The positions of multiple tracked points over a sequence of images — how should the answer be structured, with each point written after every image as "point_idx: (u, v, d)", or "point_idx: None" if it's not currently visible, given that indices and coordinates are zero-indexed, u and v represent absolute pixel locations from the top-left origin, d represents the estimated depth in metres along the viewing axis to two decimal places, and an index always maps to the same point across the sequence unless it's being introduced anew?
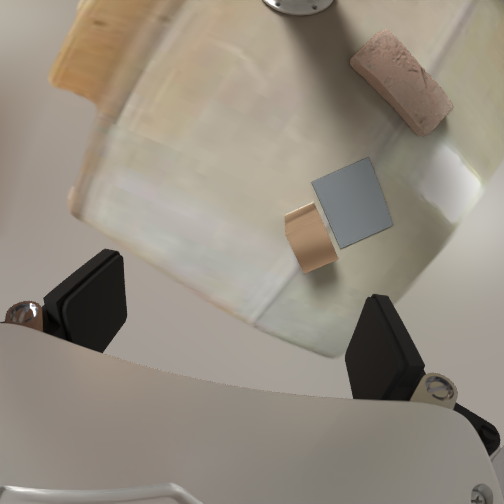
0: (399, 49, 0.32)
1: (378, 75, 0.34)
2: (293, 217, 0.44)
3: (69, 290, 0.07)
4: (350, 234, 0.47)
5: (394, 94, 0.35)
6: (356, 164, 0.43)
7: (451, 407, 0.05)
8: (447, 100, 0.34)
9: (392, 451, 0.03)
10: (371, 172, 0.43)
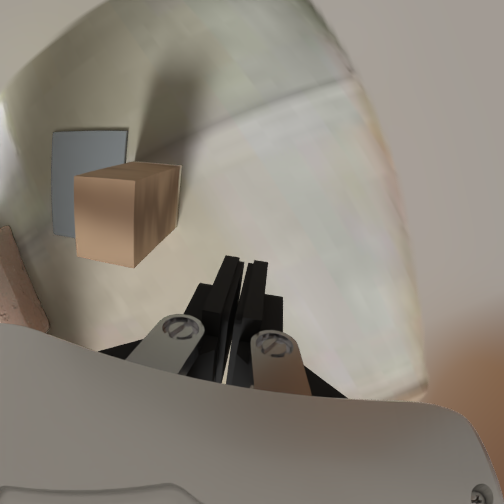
0: (2, 320, 0.32)
1: (20, 315, 0.31)
2: None
3: (225, 299, 0.08)
4: (104, 146, 0.26)
5: (11, 291, 0.30)
6: (67, 234, 0.30)
7: (299, 358, 0.07)
8: None
9: (392, 451, 0.03)
10: (55, 215, 0.29)
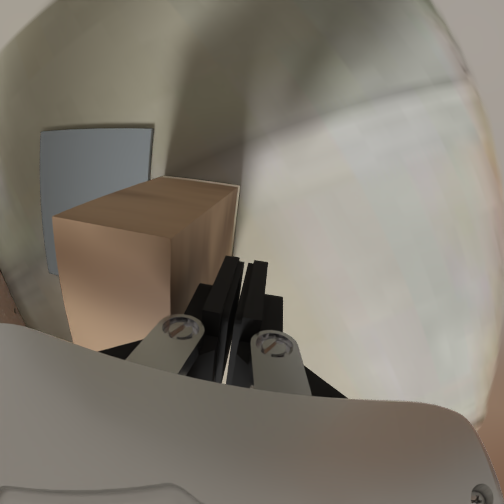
0: None
1: None
2: None
3: (225, 299, 0.08)
4: (116, 151, 0.17)
5: None
6: None
7: (299, 358, 0.07)
8: None
9: (392, 451, 0.03)
10: (49, 249, 0.21)
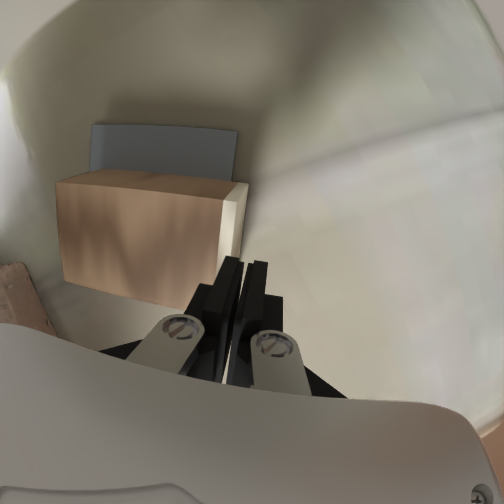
0: None
1: None
2: None
3: (225, 299, 0.08)
4: (193, 153, 0.17)
5: None
6: None
7: (299, 358, 0.07)
8: None
9: (392, 451, 0.03)
10: None
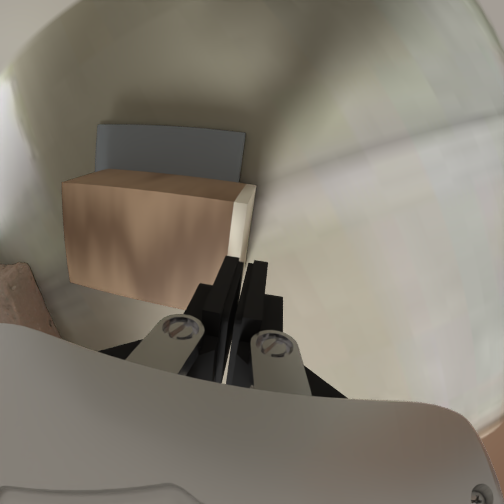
0: None
1: None
2: None
3: (225, 299, 0.08)
4: (200, 154, 0.17)
5: None
6: None
7: (298, 358, 0.07)
8: None
9: (392, 451, 0.03)
10: None
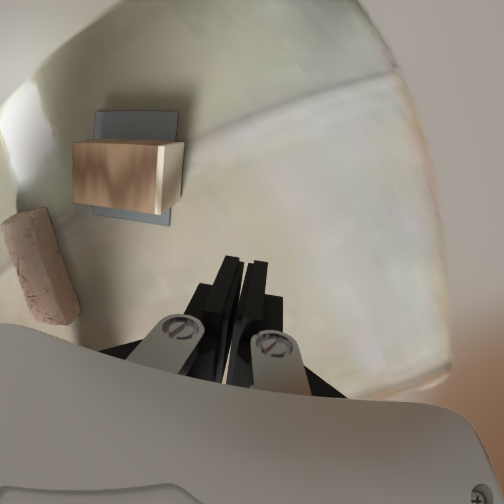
0: (30, 301, 0.35)
1: (53, 299, 0.33)
2: None
3: (225, 299, 0.08)
4: (153, 126, 0.27)
5: (45, 275, 0.32)
6: (108, 214, 0.31)
7: (299, 358, 0.07)
8: (4, 234, 0.31)
9: (392, 451, 0.03)
10: None
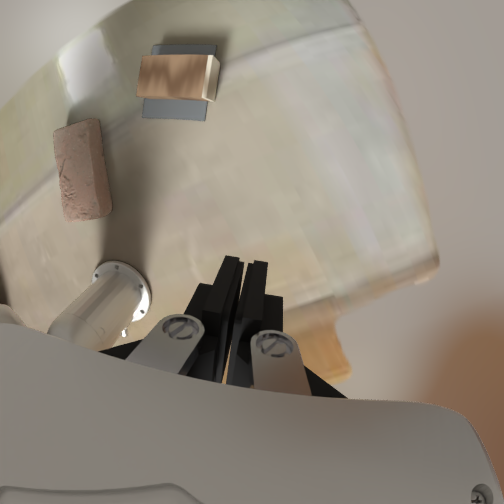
0: (66, 200, 0.42)
1: (92, 191, 0.41)
2: (181, 97, 0.35)
3: (225, 299, 0.08)
4: (198, 53, 0.36)
5: (90, 169, 0.40)
6: (155, 116, 0.40)
7: (299, 358, 0.07)
8: (55, 139, 0.39)
9: (392, 451, 0.03)
10: (146, 103, 0.39)
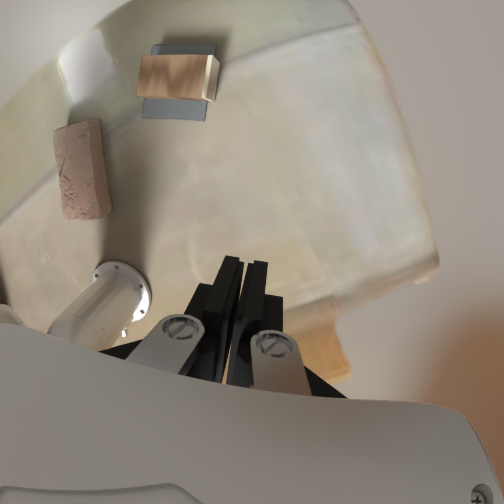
0: (66, 200, 0.42)
1: (92, 191, 0.41)
2: (181, 97, 0.35)
3: (225, 299, 0.08)
4: (198, 53, 0.36)
5: (90, 169, 0.40)
6: (155, 116, 0.40)
7: (299, 358, 0.07)
8: (55, 139, 0.39)
9: (392, 451, 0.03)
10: (146, 103, 0.39)
